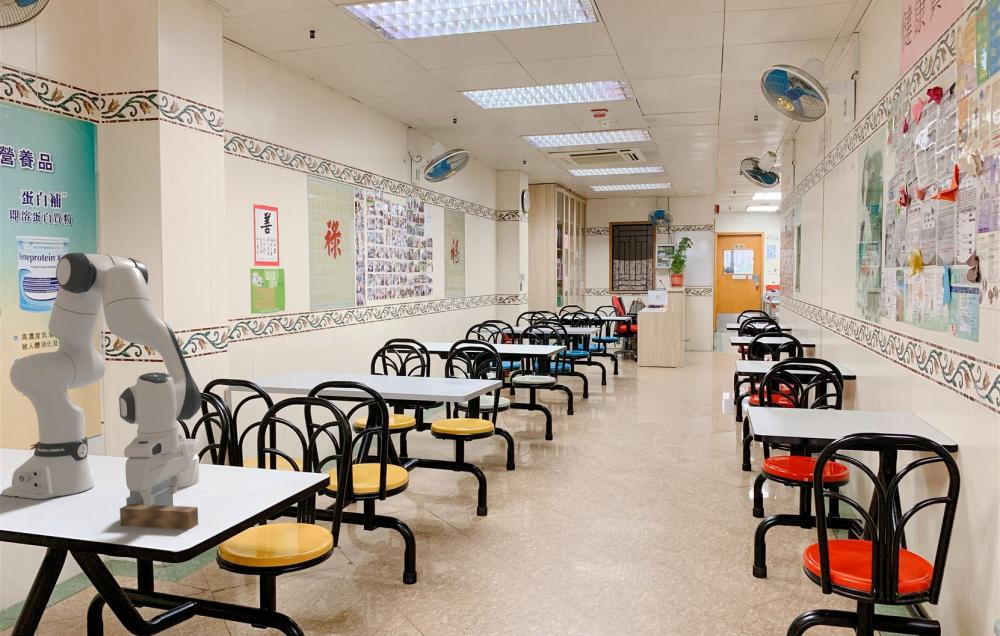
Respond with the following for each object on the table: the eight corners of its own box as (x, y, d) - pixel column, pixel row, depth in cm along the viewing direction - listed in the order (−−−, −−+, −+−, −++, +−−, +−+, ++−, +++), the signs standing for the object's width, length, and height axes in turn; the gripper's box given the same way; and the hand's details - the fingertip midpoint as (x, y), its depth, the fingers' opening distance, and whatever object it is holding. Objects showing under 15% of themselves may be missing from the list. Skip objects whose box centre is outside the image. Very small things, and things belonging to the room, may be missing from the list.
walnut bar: (120, 526, 170) (119, 508, 170) (130, 522, 174) (129, 503, 174) (189, 530, 167) (188, 511, 167) (198, 525, 171) (197, 507, 171)
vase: (191, 477, 212) (189, 437, 212) (205, 482, 206) (204, 441, 206) (161, 483, 206) (159, 442, 205) (175, 489, 200) (173, 447, 199)
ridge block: (127, 518, 176) (125, 481, 175) (151, 505, 186) (150, 471, 185) (149, 518, 175) (148, 482, 175) (173, 505, 185) (171, 471, 185)
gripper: (170, 432, 180) (173, 486, 181) (118, 451, 160) (122, 512, 161) (194, 432, 180) (196, 486, 180) (145, 451, 159) (148, 512, 160)
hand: (161, 499), depth 170 cm, fingers open, 8 cm apart
